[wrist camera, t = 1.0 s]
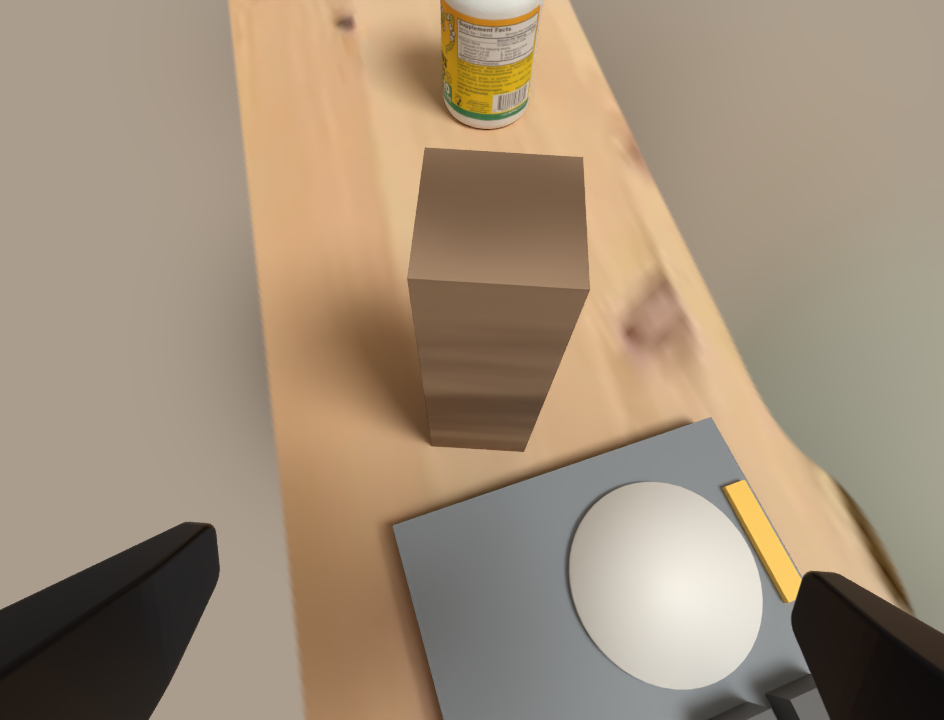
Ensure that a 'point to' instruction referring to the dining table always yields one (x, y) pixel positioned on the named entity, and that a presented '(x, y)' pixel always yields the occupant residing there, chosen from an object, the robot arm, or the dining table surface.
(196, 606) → the robot arm
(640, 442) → the panel
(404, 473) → the dining table surface
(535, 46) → the supplement bottle
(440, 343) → the post
